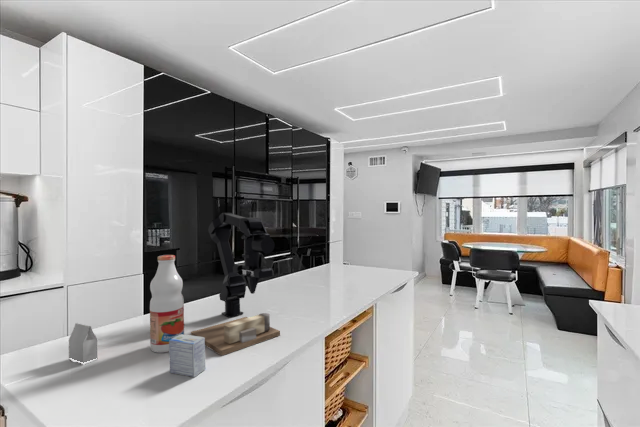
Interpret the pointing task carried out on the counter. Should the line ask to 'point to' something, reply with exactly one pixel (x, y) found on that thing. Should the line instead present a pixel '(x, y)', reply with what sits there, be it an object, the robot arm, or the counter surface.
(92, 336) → the grey milk carton
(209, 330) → the wooden board
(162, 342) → the fruit juice
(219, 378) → the counter surface
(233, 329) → the hinged leg
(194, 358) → the medicine box
